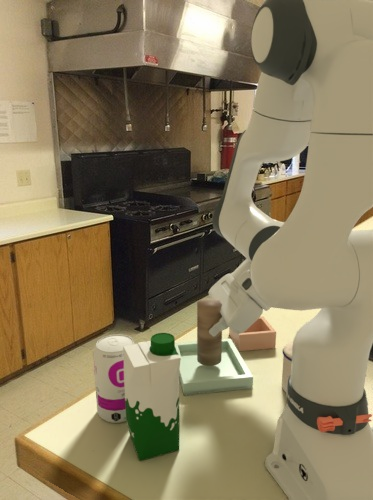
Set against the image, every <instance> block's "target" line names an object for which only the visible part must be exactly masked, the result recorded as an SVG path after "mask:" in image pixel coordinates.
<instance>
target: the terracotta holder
mask: <svg viewBox="0 0 373 500" xmlns="http://www.w3.org/2000/svg"><path fill="white" fill-rule="evenodd" d="M228 328H229V330H228V334H229V337H230V339H231V340H232V341H233V343H234V345H235V347H236V348H237V350H238V352H243V351H244V352H247V351H257V350H267V349H276V343H277V342H276V341H277V331H276V329H275V328H273V326H272V325H271V324H270V323H269V321H268V320H267V319H266V318H265V316H260V317H259V318H258V319H257V320H256V321H255V322H254V323H253V324H252V325H251V326H250V327H249V328H248V329H247V330H246V331H245V332H243V333H240V334H236V333H235V332H234V331H233V330H232V329H231V328H230V327H228Z"/></svg>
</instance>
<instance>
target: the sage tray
mask: <svg viewBox="0 0 373 500" xmlns="http://www.w3.org/2000/svg"><path fill="white" fill-rule="evenodd" d="M175 348H176V351H177V353H178V354H179V357H180V358H181V361H180V369H179V385H180V387H181V390H182V394H183V396H192V395H203V394H211V393H213V394H214V393H222V392H229V391H240V390H249V389H250V390H251V389H253V388H254V387H253V385H254V383H253V382H254V376H253V374H252V372H251V371H250V368H248V366H247V364H246V362H245V360H244V359H243V356H242V355H241V354H240V351H239V350H238V349H237V347H236V345H235V343H234V342H233V340H232V338H222V355H221V362H220V363H219V364H217V365H214V366H206V365H202V364H200V363H199V362H198V361H197V340H196V341H185V342H175Z"/></svg>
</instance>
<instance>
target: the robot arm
mask: <svg viewBox="0 0 373 500" xmlns="http://www.w3.org/2000/svg"><path fill="white" fill-rule="evenodd" d="M250 52H251V57H252V60H253V62H254V63H255V65H256V66H257V68H258V69H259V70H260V71H261V72H260V75H259V79H258V82H257V87H256V91H255V94H254V100H253V105H252V111H251V115H250V120H249V123H248V126H247V128H246V129H244V131H242V133H241V134H240V136H239V138H238V139H237V141H236V145H235V148H234V151H233V153H232V157H231V162H230V164H229V167H228V173H227V176H226V179H225V183H224V188H223V190H222V194H221V196H220V199H219V201H218V202H217V204H216V207H215V209H214V210H213V214H212V215H213V216H212V227H213V230H214V231H215V233H216V234H217V235H219V236H220V237H221V238H222V239H224V240H225V241H227V243H229V244H230V245H231V246H233V247H234V249H235V250H237V251H238V252H239V253H240V255H241V254H242V256H244V257H245V260H243V261H242V262H241V263H240V264H239V266H238V267H236V269H234V271H233V272H231V273H227V274H225V275H223V276H222V277H221V278H220V279H219V280H218V281H216V282H215V283H214V284H213V285H212V286H211V287H210V288H209V291H208V292H207V293H208V295H209V297H210V298H212V299H218V300H220V302H221V304H222V306H221V308H220V310H219V312H220V314H221V315H222V318H221V319H220V320H219V322H218V323H216V324H215V325H213V324H212V325H211V326H210V327H209V328H208V331H209V333H210V334H211V335H212V336H216V335H217V334H218V333H219V332H221V331H222V332H223V331H225V330H228V328H229V327H230V328H231V329H232V330H233V331H234V332H235V333H236V334H240V333H243V332H245V331H246V330H247V329H248V328H249V327H250V326H251V325H252V324H253V323H254V322H255V321H256V320H257V319H258V318H259V317H262V315H263V312H264V311H266V312H267V311H268V310H270V309H271V308H273V309H280V310H281V309H282V310H291V311H299V312H300V311H301V312H302V311H310V310H319V309H320V310H319V311H318V313H317V314H316V315H314V316H313V317H312V318H311V319H310V320H309V321H307V322H306V323H304V324H303V325H302V326H300V328H299V329H298V330H297V331H296V333H295V336H294V338H293V340H292V342H293V349H292V365H291V375H290V376H289V378H288V384H287V388H286V392H285V393H286V397H285V399H286V405H285V408H284V409H283V411H282V413H281V414H280V416H279V417H278V419H277V423H276V429H275V435H274V442H273V443H274V444H273V448H272V449H273V451H271V452H270V453H269V454H268V455H267V456H266V458H265V461H264V462H265V463H264V466H265V468H266V470H267V471H268V472H269V474H270V475H271V476H272V478H273V479H274V480H275V482H276V484H277V485H278V486H279V487H280V488H281V490H282V491H283V493H284V494H285V496H286V497H287V498H288V500H373V427H372V426H371V424H370V423H369V422H372V421H373V420H372V419H370V418H372V417H373V414H369V408H368V407H369V402H368V398H367V392H366V389H365V385H366V384H365V383H366V376H367V370H368V363H369V358H370V353H371V350H372V346H373V229H362V230H353V229H354V227H355V225H356V224H357V222H358V221H359V219H361V218H362V216H363V215H364V214H366V213H367V212H368V211H369V210H371V209H372V208H373V0H265V1H263V3H262V4H261V5H260V7H259V9H258V10H257V11H256V14H255V17H254V20H253V24H252V28H251V35H250ZM307 147H308V148H307ZM306 148H307V155H306V156H307V157H306V163H305V170H304V177H303V182H302V186H301V191H300V194H299V196H298V199H297V200H296V203H295V205H294V207H293V209H292V211H291V212H290V214H289V216H288V217H287V219H286V220H285V221H279V220H278V219H277V220H276V219H274V218H271V216H269V215H267V214H266V213H265V212H263V210H261V209H260V208H258V207H257V206H256V204H255V203H254V200H253V198H252V193H253V189H254V187H255V184H256V181H257V177H258V175H259V171H260V168H261V167H262V165H263V164H264V163H273V162H275V163H276V162H283V161H287V160H290V159H292V158H295V157H297V156H298V155H299V154H301V153H302V152H303V151H304V150H305V149H306Z"/></svg>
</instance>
